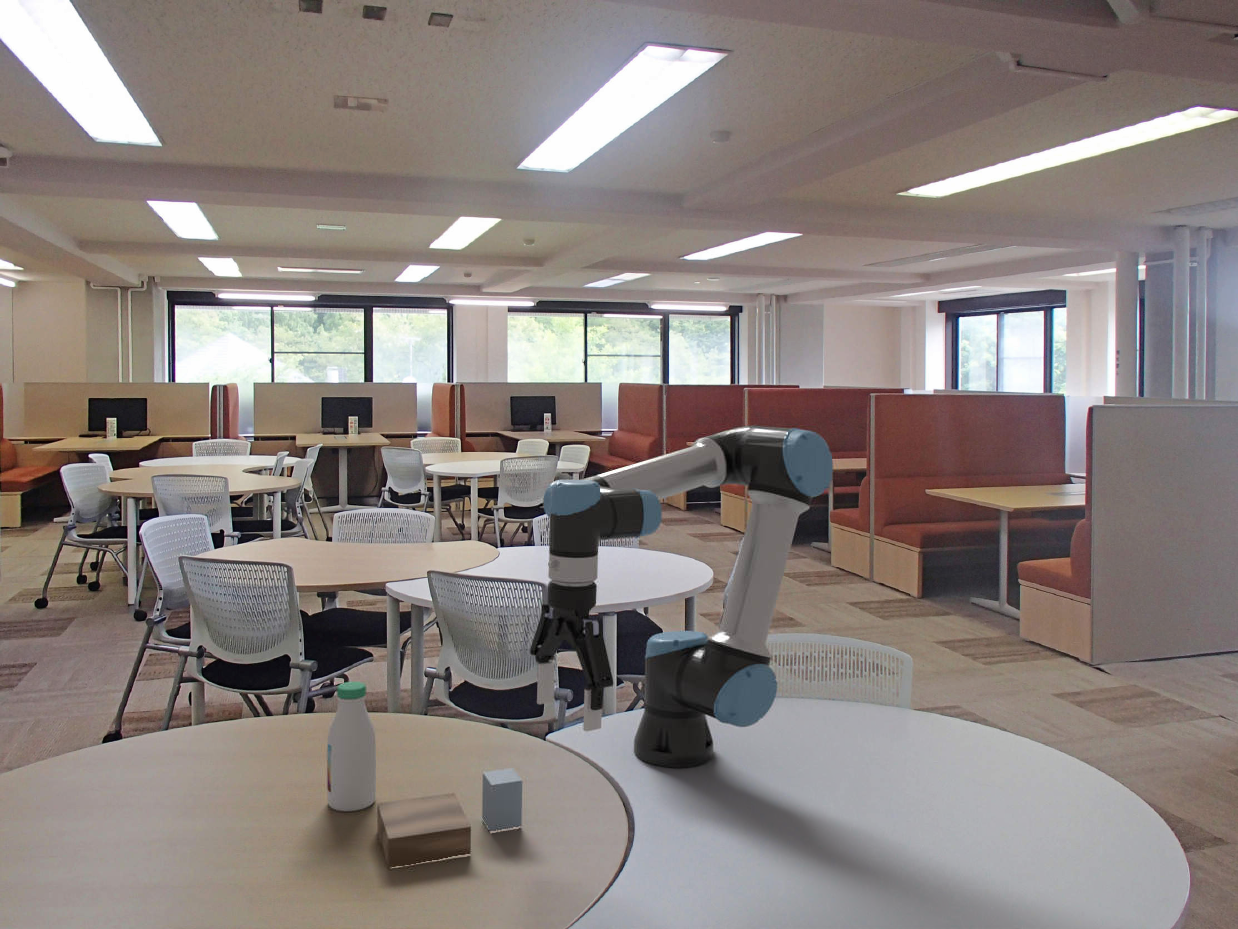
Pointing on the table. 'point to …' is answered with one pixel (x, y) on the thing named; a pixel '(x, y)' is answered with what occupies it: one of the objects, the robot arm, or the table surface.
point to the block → (502, 799)
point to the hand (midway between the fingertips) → (567, 715)
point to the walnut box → (423, 829)
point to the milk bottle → (351, 752)
